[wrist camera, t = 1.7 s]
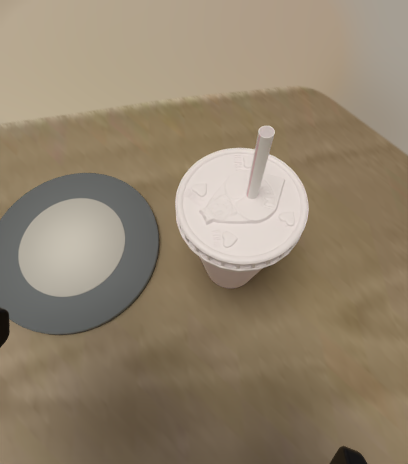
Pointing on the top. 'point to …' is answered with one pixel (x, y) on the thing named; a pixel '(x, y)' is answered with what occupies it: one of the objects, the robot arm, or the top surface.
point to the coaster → (75, 253)
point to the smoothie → (241, 211)
